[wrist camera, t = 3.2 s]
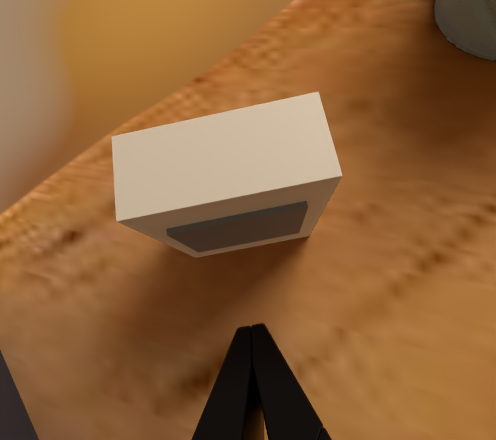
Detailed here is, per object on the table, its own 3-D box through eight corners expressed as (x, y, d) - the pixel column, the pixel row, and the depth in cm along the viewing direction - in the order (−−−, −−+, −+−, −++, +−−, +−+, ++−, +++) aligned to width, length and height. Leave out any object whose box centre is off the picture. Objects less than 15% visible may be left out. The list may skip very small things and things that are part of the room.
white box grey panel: (310, 240, 17) (344, 183, 8) (196, 262, 17) (116, 229, 9) (298, 189, 18) (318, 91, 9) (189, 211, 18) (111, 136, 10)
